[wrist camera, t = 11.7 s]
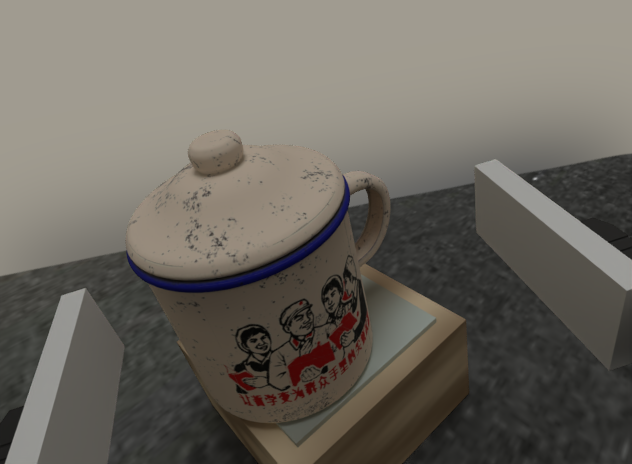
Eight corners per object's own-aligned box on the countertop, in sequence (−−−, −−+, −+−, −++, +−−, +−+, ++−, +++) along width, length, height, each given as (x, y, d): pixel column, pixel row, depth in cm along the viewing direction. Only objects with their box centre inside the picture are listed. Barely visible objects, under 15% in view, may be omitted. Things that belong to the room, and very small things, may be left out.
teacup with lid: (256, 477, 19) (129, 250, 12) (174, 350, 26) (64, 159, 19) (460, 313, 23) (449, 83, 17) (346, 241, 30) (305, 56, 23)
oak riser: (212, 405, 30) (174, 338, 26) (340, 305, 35) (322, 237, 31) (324, 545, 22) (291, 478, 19) (469, 393, 27) (465, 315, 23)
